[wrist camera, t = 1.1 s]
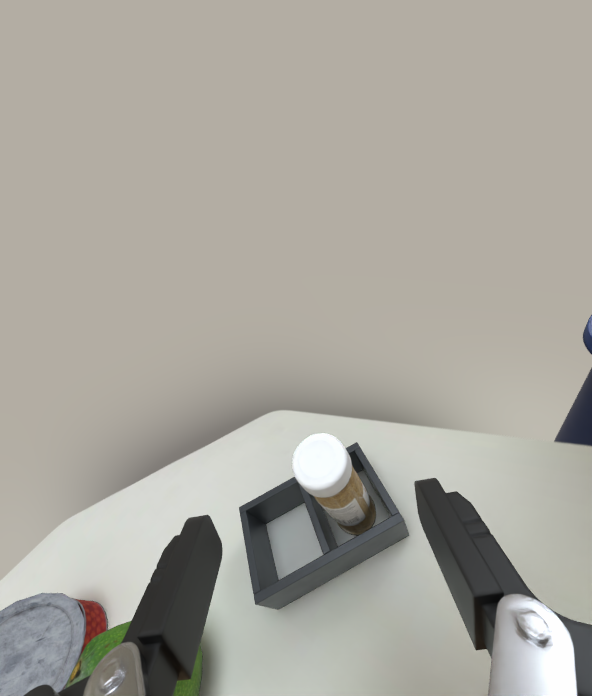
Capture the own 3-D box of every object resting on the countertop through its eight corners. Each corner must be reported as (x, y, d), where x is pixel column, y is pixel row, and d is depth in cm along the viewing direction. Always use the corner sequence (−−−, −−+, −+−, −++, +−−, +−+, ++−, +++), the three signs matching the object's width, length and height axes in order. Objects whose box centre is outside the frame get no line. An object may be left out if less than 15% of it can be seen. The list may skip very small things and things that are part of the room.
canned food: (111, 603, 37) (87, 550, 34) (125, 689, 29) (96, 631, 26) (-9, 686, 30) (-53, 630, 27) (-31, 823, 23) (-96, 769, 20)
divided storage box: (365, 461, 34) (356, 441, 30) (409, 535, 27) (404, 520, 24) (258, 520, 33) (238, 507, 30) (278, 609, 27) (255, 604, 24)
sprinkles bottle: (379, 495, 30) (353, 436, 22) (371, 543, 28) (337, 497, 19) (340, 484, 33) (301, 426, 24) (328, 527, 30) (281, 479, 21)
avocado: (214, 600, 29) (131, 584, 21) (228, 716, 23) (119, 750, 15) (145, 645, 29) (34, 644, 21) (142, 776, 23) (-17, 841, 15)
